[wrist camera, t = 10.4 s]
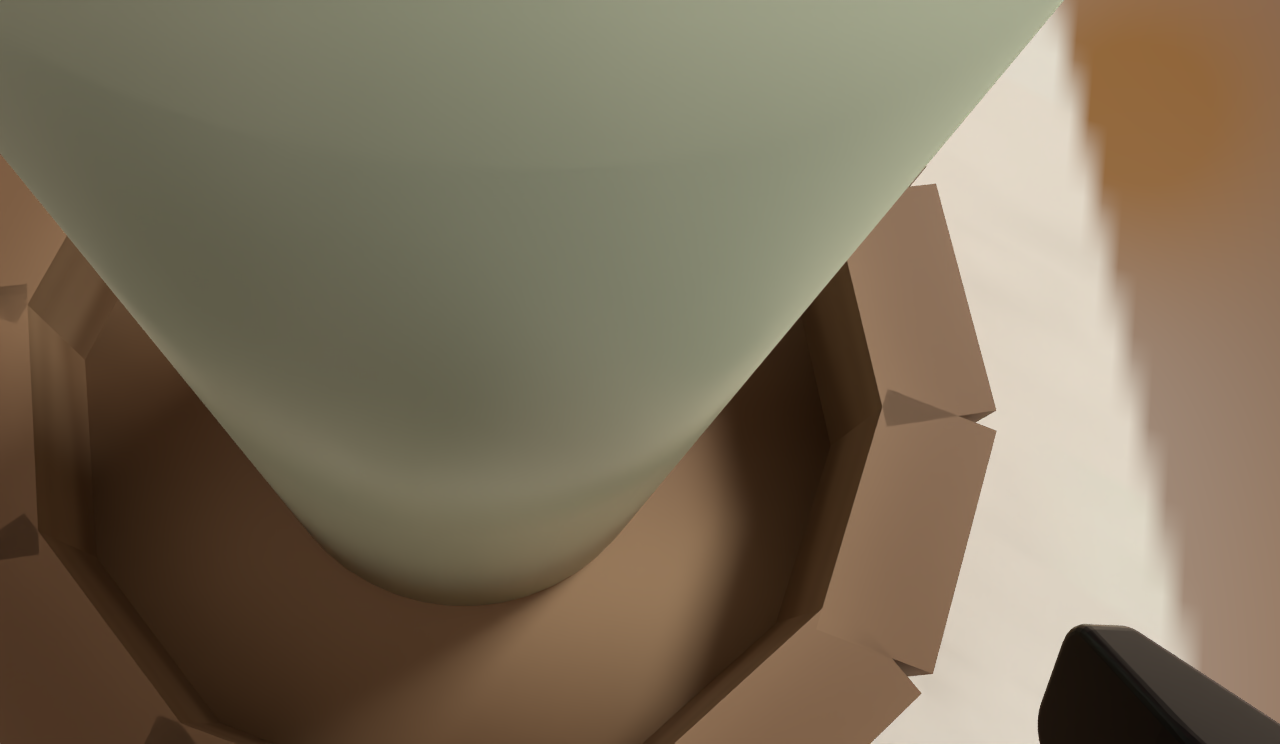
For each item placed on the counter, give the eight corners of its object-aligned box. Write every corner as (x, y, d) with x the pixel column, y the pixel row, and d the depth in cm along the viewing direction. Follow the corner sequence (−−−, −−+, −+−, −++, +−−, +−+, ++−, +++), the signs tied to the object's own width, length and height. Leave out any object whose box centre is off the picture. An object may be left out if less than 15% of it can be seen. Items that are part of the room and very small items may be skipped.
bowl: (992, 794, 17) (1103, 808, 14) (10, 1007, 14) (-103, 1078, 11) (798, -2, 20) (854, -121, 17) (-25, 62, 18) (-119, -66, 15)
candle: (587, 663, 16) (1239, 358, 3) (201, 524, 15) (-1283, -590, 2) (708, 306, 17) (1477, -985, 4) (362, 177, 17) (31, -1603, 4)
